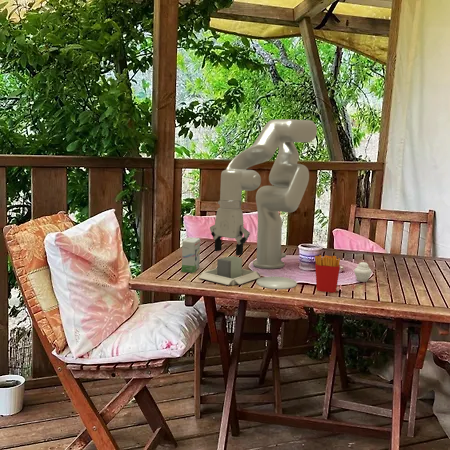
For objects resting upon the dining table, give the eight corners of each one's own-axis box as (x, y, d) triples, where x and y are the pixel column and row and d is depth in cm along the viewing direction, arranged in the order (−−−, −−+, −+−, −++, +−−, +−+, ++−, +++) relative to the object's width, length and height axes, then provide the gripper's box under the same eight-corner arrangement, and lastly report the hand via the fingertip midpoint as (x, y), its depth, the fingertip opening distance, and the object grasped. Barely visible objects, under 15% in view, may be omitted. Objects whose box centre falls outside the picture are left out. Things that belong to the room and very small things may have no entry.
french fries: (339, 290, 179) (341, 255, 177) (338, 293, 175) (340, 257, 173) (313, 287, 181) (315, 253, 179) (312, 290, 178) (313, 255, 176)
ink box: (187, 266, 207) (187, 236, 205) (200, 267, 206) (200, 237, 204) (181, 272, 199) (181, 241, 197) (194, 273, 198) (194, 241, 196)
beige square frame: (225, 268, 205) (225, 263, 205) (265, 277, 194) (265, 271, 193) (193, 277, 191) (193, 272, 191) (234, 287, 179) (234, 281, 179)
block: (230, 274, 197) (231, 255, 196) (241, 276, 194) (242, 258, 193) (217, 278, 191) (217, 259, 190) (228, 281, 188) (228, 261, 187)
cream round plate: (271, 276, 195) (271, 274, 195) (304, 283, 187) (304, 281, 187) (248, 283, 185) (248, 282, 184) (282, 291, 176) (282, 289, 176)
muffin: (359, 283, 187) (360, 264, 186) (350, 279, 193) (351, 260, 192) (374, 282, 189) (375, 263, 188) (365, 278, 195) (366, 259, 194)
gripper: (205, 203, 190) (203, 250, 192) (243, 208, 180) (241, 258, 182) (218, 202, 196) (216, 248, 198) (256, 207, 185) (254, 255, 188)
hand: (228, 252), depth 190 cm, fingers open, 9 cm apart
